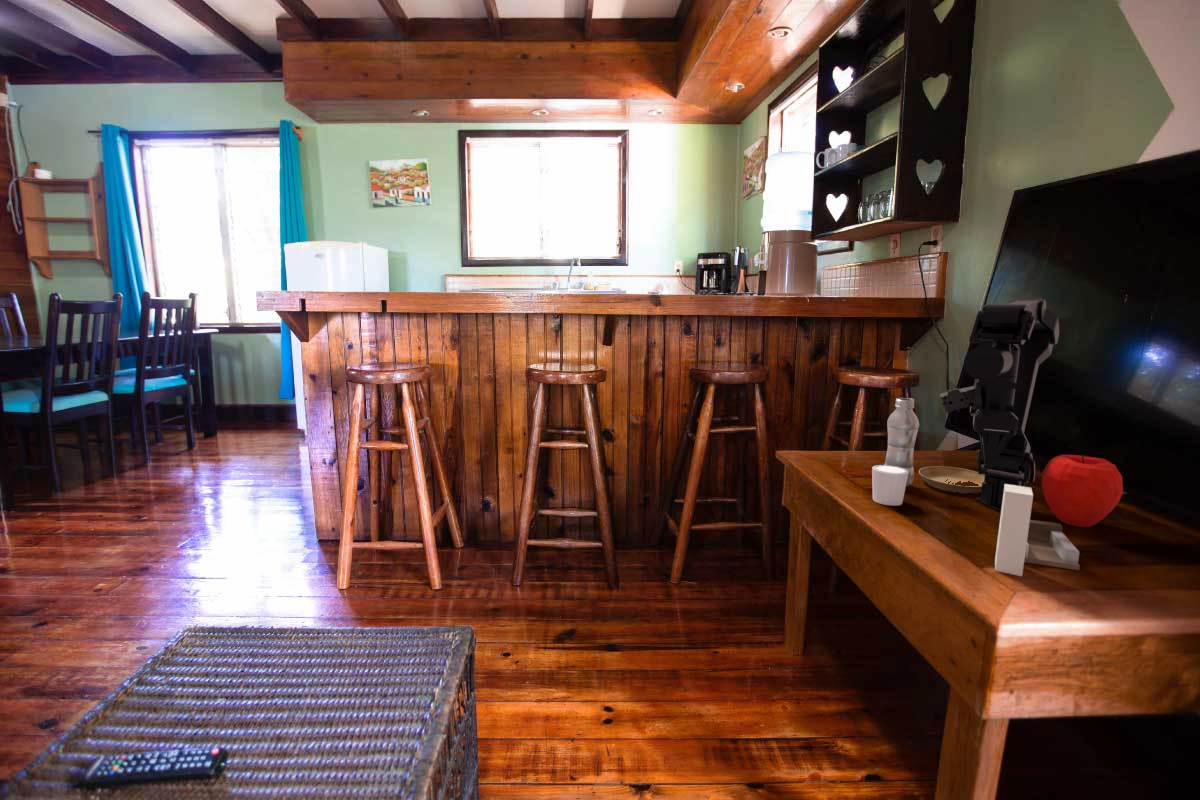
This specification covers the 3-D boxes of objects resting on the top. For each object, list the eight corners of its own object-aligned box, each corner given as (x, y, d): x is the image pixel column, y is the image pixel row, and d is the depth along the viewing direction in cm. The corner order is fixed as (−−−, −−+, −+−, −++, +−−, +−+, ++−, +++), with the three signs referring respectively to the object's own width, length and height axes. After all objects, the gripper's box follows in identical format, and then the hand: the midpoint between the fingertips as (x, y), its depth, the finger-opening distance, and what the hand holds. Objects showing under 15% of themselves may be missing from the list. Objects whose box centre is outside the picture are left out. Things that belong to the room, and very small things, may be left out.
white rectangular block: (994, 560, 93) (1004, 483, 91) (1020, 565, 92) (1031, 487, 89) (995, 570, 90) (1005, 491, 88) (1022, 576, 88) (1033, 495, 86)
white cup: (862, 497, 123) (864, 466, 122) (886, 493, 125) (889, 463, 124) (888, 508, 117) (891, 475, 115) (913, 504, 119) (916, 471, 118)
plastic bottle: (902, 480, 135) (910, 396, 131) (919, 489, 128) (928, 401, 125) (875, 480, 135) (883, 396, 131) (891, 490, 128) (899, 401, 124)
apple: (1095, 515, 113) (1105, 449, 111) (1132, 538, 102) (1144, 466, 100) (1026, 509, 116) (1034, 445, 114) (1054, 531, 105) (1064, 461, 103)
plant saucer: (1006, 499, 123) (1008, 487, 122) (932, 495, 125) (933, 484, 125) (973, 478, 137) (975, 467, 137) (907, 475, 139) (908, 464, 139)
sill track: (999, 537, 102) (1001, 516, 102) (1058, 545, 99) (1061, 523, 98) (1013, 560, 93) (1016, 537, 93) (1079, 570, 90) (1082, 546, 89)
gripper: (944, 367, 114) (937, 442, 117) (944, 377, 99) (935, 465, 101) (1013, 370, 109) (1003, 450, 111) (1024, 382, 93) (1012, 475, 96)
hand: (987, 459), depth 105 cm, fingers open, 9 cm apart
